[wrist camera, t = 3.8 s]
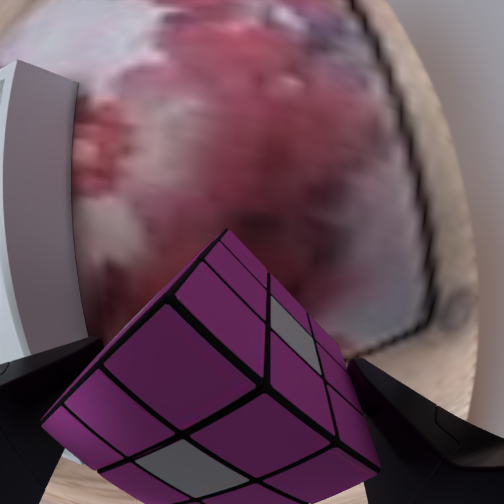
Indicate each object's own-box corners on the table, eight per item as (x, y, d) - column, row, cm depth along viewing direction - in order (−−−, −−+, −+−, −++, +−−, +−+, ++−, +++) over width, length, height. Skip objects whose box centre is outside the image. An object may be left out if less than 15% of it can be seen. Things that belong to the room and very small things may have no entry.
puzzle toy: (226, 419, 11) (204, 533, 5) (122, 328, 10) (36, 424, 5) (339, 345, 10) (384, 473, 4) (227, 226, 9) (166, 291, 4)
